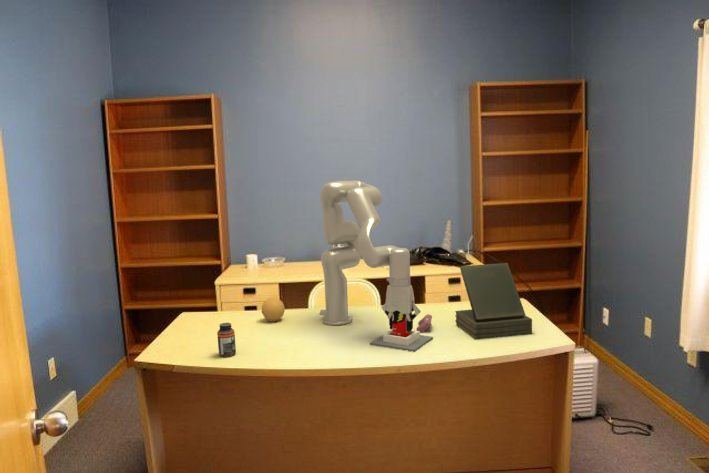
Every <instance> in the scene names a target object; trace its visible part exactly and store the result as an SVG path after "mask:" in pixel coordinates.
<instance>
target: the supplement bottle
mask: <svg viewBox="0 0 709 473" xmlns="http://www.w3.org/2000/svg"><path fill="white" fill-rule="evenodd" d="M216 334H217V345H218V355H219V356H220V357H221V358H231V357H233V356H235V355H236V354H237V350H236V347H237V346H236V337H235V336H236V334H235V330H234V328H232V323H231V322H221V323H220V324H219V330H217V333H216Z"/></svg>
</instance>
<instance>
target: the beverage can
mask: <svg viewBox="0 0 709 473" xmlns="http://www.w3.org/2000/svg"><path fill="white" fill-rule="evenodd" d="M407 321H408V319H407V317H406V314H401V313H400V312H399V311H394V312H393V313H392V329H391V330H392V331H393V335H394V336H400V337H408V336H409V335H410V331H409V332H407Z"/></svg>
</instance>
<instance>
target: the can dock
mask: <svg viewBox="0 0 709 473" xmlns="http://www.w3.org/2000/svg"><path fill="white" fill-rule="evenodd" d="M432 340H434V336H429V335H422V334H421V332H420V331H417V330H414V329H412V330H411V331H410V335H409V336H408V337H400V336H394V335H393V331H392V329H390V330H389V331H388V332H386V333H384V334H382V335H381V336H378V337H377V338H375V339H373V340H372V341H370V342H369V345H371V346H376V347H381V348H382V347H383V348H388V349H393V348H395V349H394V350H399V349H402V350H401V351H405V350H408V351H407V352H411V351H413V353H415V352H416V351H418V350H419V349H422V347H424V346H425V345H426V343H427V344H428V343H429V342H431V341H432ZM423 345H424V346H423ZM417 349H418V350H417Z"/></svg>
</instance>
